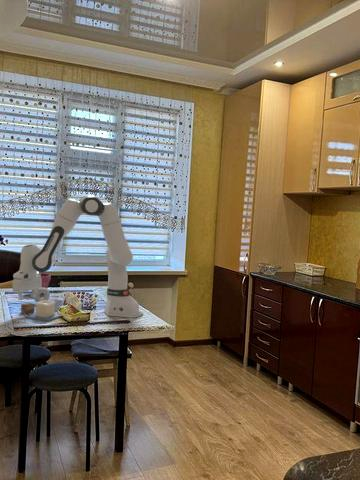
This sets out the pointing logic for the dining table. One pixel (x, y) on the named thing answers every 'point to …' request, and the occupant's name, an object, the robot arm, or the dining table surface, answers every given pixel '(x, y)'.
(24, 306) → the walnut block
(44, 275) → the plant pot
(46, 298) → the donut
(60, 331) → the dining table surface
